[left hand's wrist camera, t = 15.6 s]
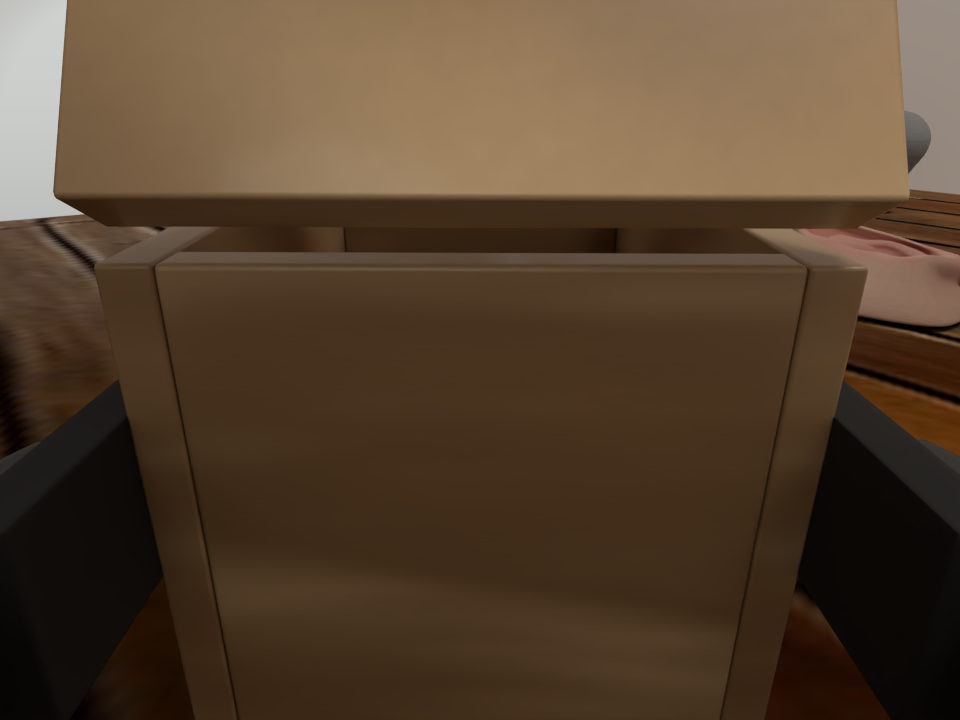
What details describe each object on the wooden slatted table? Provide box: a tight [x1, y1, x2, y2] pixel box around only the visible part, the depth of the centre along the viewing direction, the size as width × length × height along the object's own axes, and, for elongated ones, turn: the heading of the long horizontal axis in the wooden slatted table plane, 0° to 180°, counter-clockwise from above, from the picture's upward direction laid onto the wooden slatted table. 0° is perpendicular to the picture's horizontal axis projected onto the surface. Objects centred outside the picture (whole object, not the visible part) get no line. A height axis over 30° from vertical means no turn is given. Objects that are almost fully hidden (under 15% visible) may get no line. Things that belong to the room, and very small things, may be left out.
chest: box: [94, 227, 868, 720], centre depth 16 cm, size 13×10×11 cm
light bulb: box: [904, 111, 931, 174], centre depth 72 cm, size 6×6×10 cm
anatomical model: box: [793, 226, 960, 327], centre depth 43 cm, size 13×4×12 cm
